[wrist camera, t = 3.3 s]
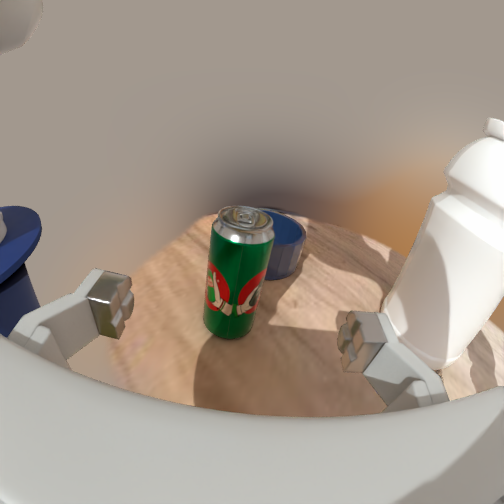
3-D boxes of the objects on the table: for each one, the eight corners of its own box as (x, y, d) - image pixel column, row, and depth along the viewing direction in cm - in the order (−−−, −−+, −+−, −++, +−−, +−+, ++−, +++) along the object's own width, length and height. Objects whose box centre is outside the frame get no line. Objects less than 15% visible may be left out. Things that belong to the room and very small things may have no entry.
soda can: (251, 309, 30) (275, 209, 23) (252, 345, 25) (281, 237, 19) (205, 303, 29) (216, 200, 23) (199, 338, 25) (209, 226, 19)
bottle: (380, 362, 25) (499, 99, 10) (372, 289, 37) (440, 101, 22) (465, 377, 23) (578, 175, 8) (444, 310, 35) (515, 149, 20)
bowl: (224, 279, 33) (229, 244, 31) (218, 234, 42) (221, 205, 40) (307, 280, 36) (318, 249, 33) (285, 238, 45) (292, 211, 43)
